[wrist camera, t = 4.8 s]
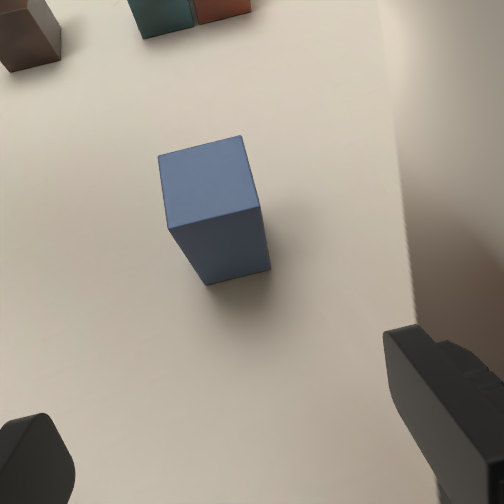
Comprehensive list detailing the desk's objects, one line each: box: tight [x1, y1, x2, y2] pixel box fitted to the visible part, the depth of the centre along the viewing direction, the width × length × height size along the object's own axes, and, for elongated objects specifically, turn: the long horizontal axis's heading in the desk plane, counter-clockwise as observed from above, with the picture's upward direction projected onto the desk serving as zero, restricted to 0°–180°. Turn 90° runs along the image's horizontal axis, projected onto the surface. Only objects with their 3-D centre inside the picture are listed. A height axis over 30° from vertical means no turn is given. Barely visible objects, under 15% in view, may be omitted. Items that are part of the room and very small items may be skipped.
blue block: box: [158, 135, 271, 285], centre depth 23 cm, size 4×4×8 cm
